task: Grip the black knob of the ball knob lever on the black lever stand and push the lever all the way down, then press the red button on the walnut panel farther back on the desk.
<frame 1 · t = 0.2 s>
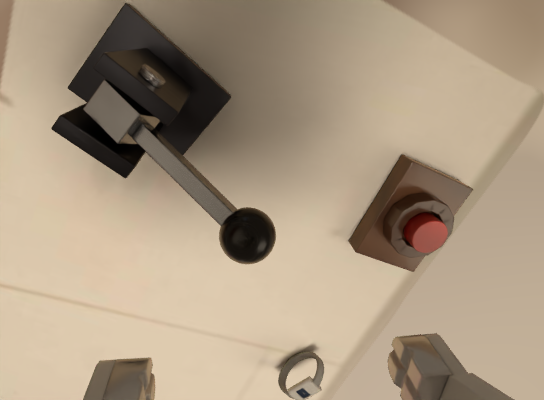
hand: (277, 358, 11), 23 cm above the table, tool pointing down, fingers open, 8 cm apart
ball knob lever: (186, 175, 19), point 12 cm above the table, hinge at 25.0°
wristwatch: (296, 355, 45), on the table
start button: (425, 232, 33), point 4 cm above the table, slide at 0.1 cm
black lever stand: (154, 90, 28), on the table
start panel: (403, 211, 37), on the table
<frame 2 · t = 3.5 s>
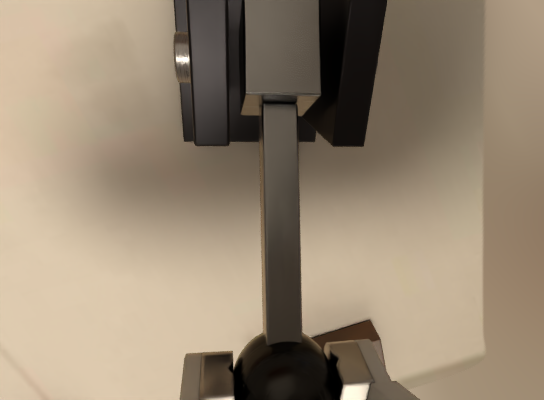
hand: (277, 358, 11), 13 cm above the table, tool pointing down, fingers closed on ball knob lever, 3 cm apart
ball knob lever: (279, 226, 10), point 12 cm above the table, hinge at 25.0°, touching gripper
black lever stand: (250, 51, 19), on the table
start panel: (320, 366, 32), on the table
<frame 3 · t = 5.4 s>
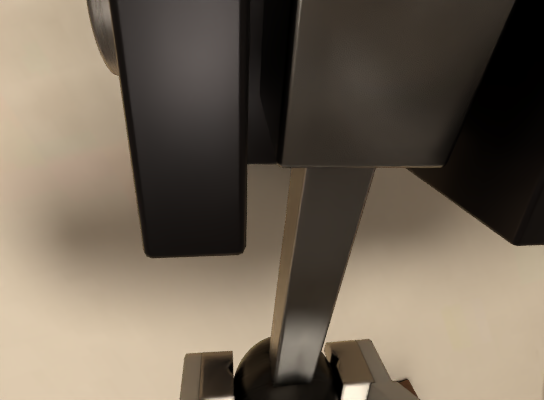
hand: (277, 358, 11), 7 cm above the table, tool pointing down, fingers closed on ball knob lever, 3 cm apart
ball knob lever: (306, 287, 7), point 9 cm above the table, hinge at -11.3°, touching gripper
black lever stand: (266, 33, 13), on the table
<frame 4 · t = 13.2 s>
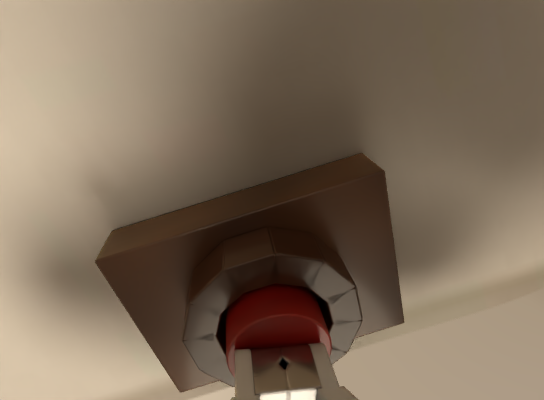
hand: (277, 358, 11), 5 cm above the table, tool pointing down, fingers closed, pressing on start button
start button: (276, 335, 12), point 4 cm above the table, slide at -0.1 cm, touching gripper
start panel: (263, 264, 16), on the table
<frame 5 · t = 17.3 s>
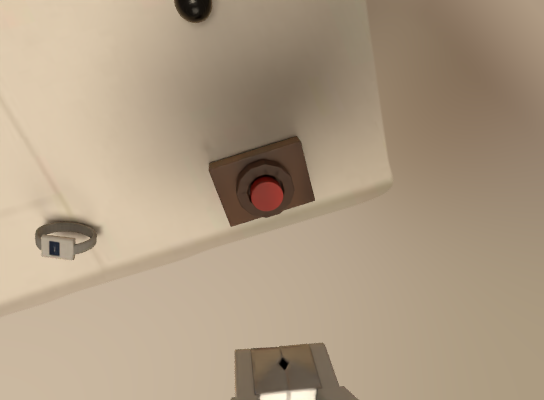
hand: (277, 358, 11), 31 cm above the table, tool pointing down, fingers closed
wristwatch: (75, 225, 42), on the table
start button: (266, 193, 38), point 4 cm above the table, slide at 0.1 cm
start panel: (262, 179, 42), on the table
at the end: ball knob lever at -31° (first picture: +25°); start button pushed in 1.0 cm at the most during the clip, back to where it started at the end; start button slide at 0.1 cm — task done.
